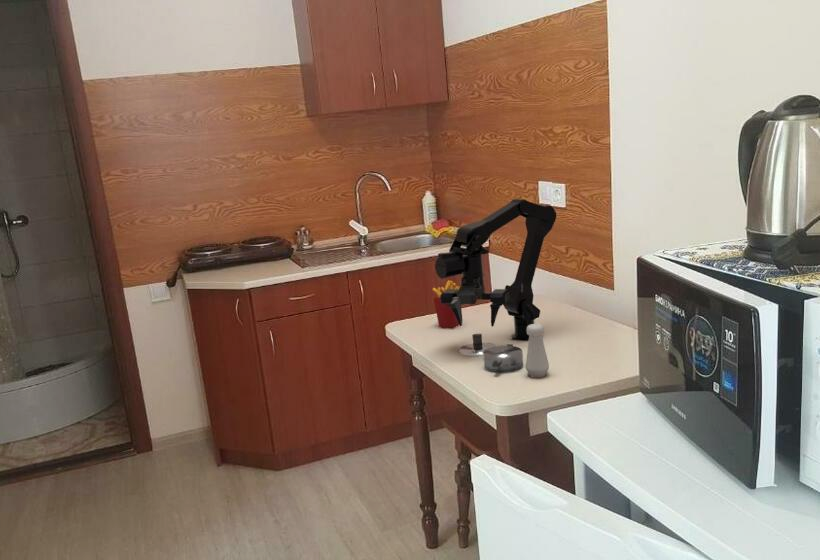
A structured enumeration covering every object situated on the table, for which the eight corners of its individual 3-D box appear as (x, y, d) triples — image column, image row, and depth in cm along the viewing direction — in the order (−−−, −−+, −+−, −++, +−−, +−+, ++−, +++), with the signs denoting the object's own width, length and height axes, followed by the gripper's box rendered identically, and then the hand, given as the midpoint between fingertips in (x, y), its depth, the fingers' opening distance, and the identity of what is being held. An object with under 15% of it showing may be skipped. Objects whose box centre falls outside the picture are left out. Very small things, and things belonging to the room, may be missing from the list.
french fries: (435, 328, 227) (431, 282, 224) (448, 321, 234) (444, 276, 231) (459, 330, 223) (455, 283, 219) (472, 323, 229) (468, 277, 226)
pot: (492, 355, 197) (492, 341, 196) (529, 357, 193) (528, 342, 192) (477, 375, 183) (476, 360, 182) (515, 377, 180) (514, 362, 179)
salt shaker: (549, 378, 177) (546, 328, 174) (525, 379, 178) (522, 329, 175) (549, 370, 182) (547, 321, 179) (526, 370, 183) (523, 322, 181)
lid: (465, 344, 210) (464, 328, 209) (501, 345, 206) (500, 329, 205) (454, 356, 200) (453, 340, 199) (491, 358, 196) (490, 341, 195)
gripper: (430, 278, 194) (435, 334, 198) (497, 278, 187) (501, 335, 191) (444, 269, 204) (448, 322, 208) (508, 268, 197) (511, 323, 201)
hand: (476, 325), depth 202 cm, fingers open, 9 cm apart
